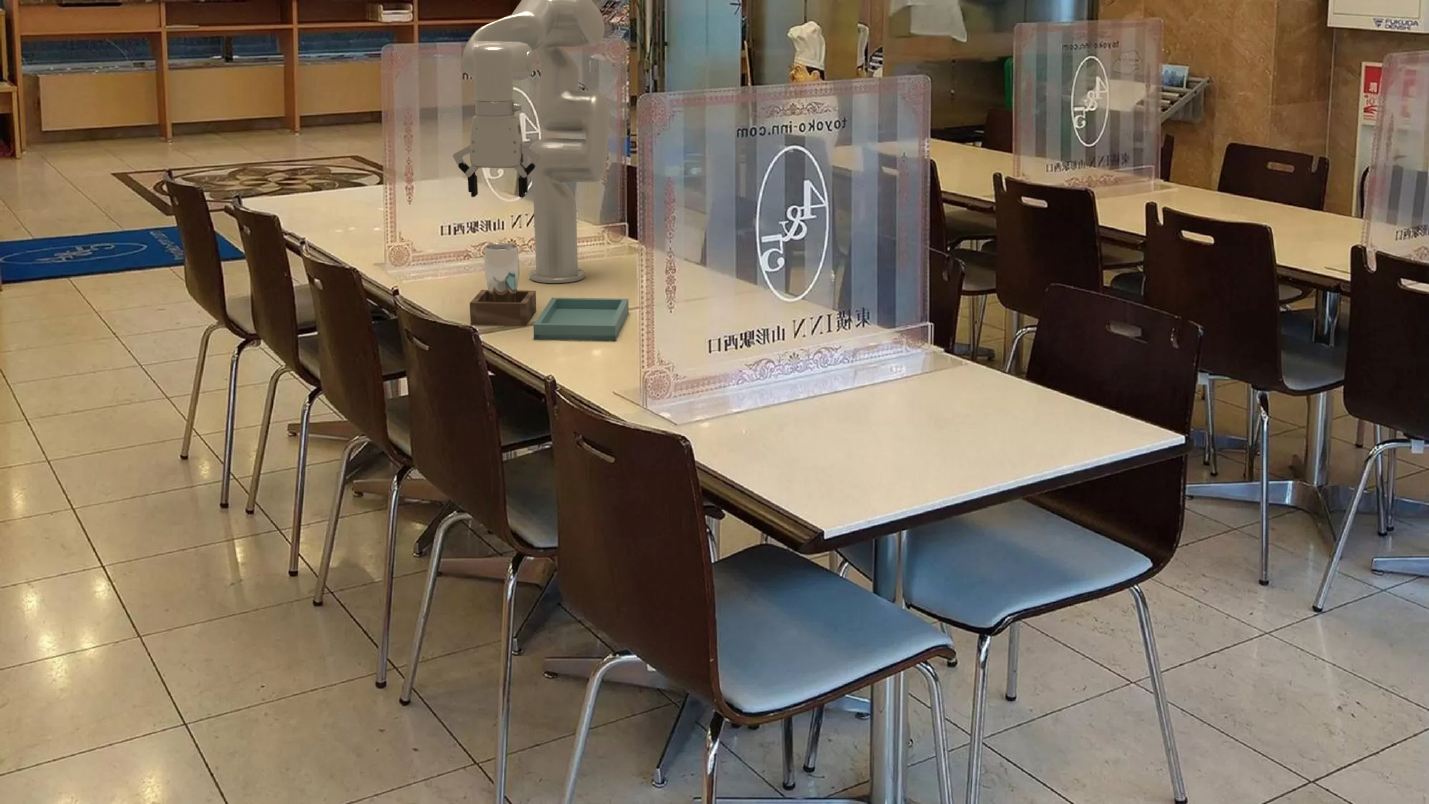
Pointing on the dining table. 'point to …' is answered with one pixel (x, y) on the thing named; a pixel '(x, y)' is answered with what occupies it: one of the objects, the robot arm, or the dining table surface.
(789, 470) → the dining table surface
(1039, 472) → the dining table surface
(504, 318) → the box
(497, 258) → the beer glass
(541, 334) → the tray
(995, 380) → the dining table surface
